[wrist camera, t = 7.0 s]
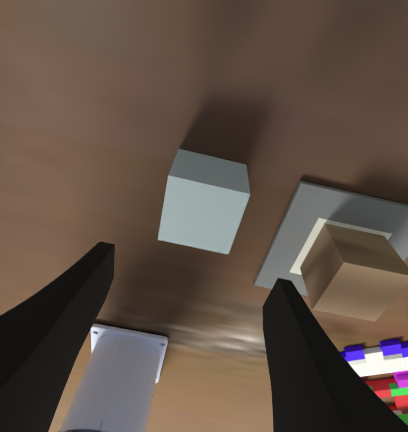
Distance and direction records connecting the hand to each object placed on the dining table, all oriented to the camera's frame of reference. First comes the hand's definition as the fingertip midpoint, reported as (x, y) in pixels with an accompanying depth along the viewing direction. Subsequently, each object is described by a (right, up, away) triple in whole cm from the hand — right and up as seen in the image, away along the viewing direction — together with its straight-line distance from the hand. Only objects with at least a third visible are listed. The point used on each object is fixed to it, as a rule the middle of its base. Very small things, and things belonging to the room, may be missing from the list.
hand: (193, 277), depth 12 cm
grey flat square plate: (+11, 0, +9) cm, 14 cm away
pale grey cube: (+1, +5, +7) cm, 9 cm away
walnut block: (+11, 0, +9) cm, 14 cm away
